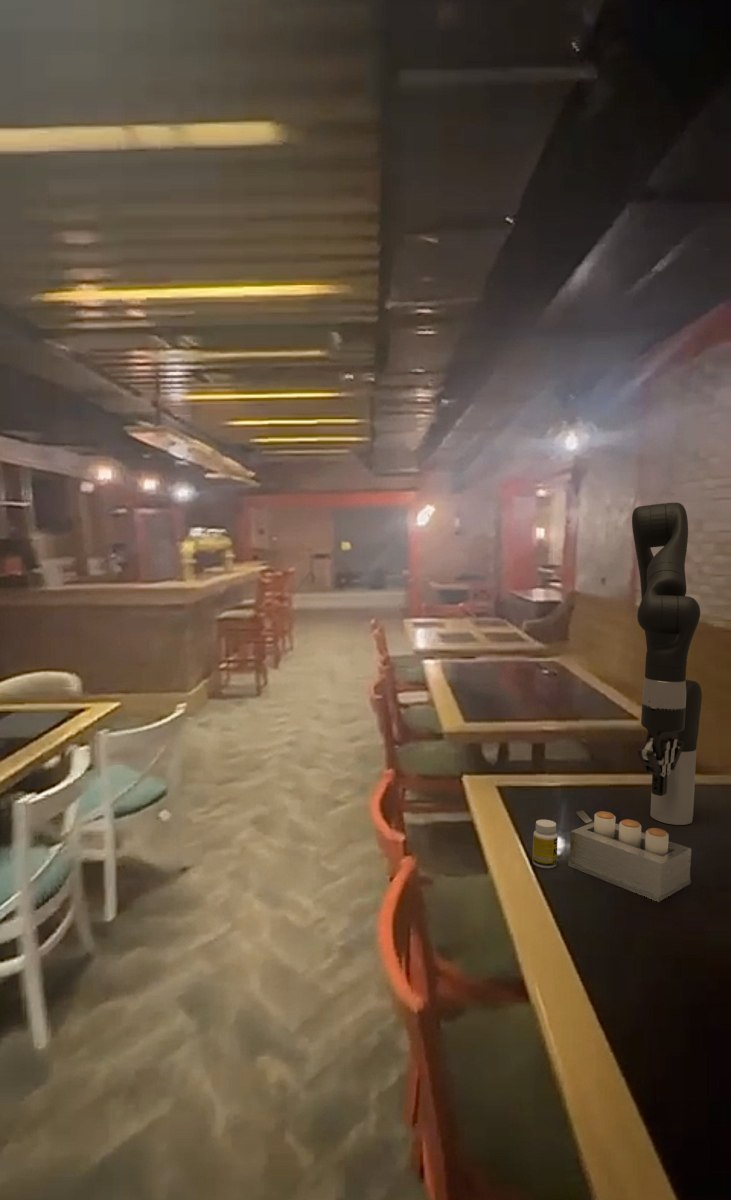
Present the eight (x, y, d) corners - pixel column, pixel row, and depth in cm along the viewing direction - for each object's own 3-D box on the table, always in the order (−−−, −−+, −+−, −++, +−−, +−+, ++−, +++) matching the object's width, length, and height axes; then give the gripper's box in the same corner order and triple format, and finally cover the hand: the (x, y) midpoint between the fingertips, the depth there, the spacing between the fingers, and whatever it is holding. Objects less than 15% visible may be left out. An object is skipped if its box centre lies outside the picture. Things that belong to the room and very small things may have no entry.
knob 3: (651, 856, 142) (652, 825, 142) (671, 863, 139) (672, 832, 138) (640, 861, 139) (641, 830, 139) (660, 868, 136) (662, 837, 136)
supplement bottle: (557, 870, 145) (558, 828, 144) (532, 867, 146) (534, 826, 145) (555, 860, 150) (557, 819, 149) (532, 857, 151) (533, 817, 150)
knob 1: (600, 837, 150) (601, 809, 150) (618, 844, 147) (619, 814, 147) (589, 842, 148) (590, 813, 147) (607, 849, 145) (608, 819, 144)
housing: (601, 850, 155) (603, 818, 154) (690, 883, 140) (692, 847, 140) (568, 865, 147) (569, 831, 147) (658, 902, 133) (660, 864, 132)
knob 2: (625, 846, 146) (626, 817, 146) (643, 853, 143) (645, 823, 143) (614, 851, 144) (615, 821, 143) (632, 858, 141) (634, 828, 140)
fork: (637, 842, 160) (637, 833, 160) (575, 820, 173) (575, 811, 173) (643, 840, 162) (644, 831, 162) (582, 818, 175) (582, 809, 174)
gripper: (662, 695, 144) (658, 782, 145) (626, 703, 136) (621, 796, 137) (700, 702, 138) (695, 792, 140) (665, 711, 130) (659, 807, 131)
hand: (658, 794), depth 138 cm, fingers closed
